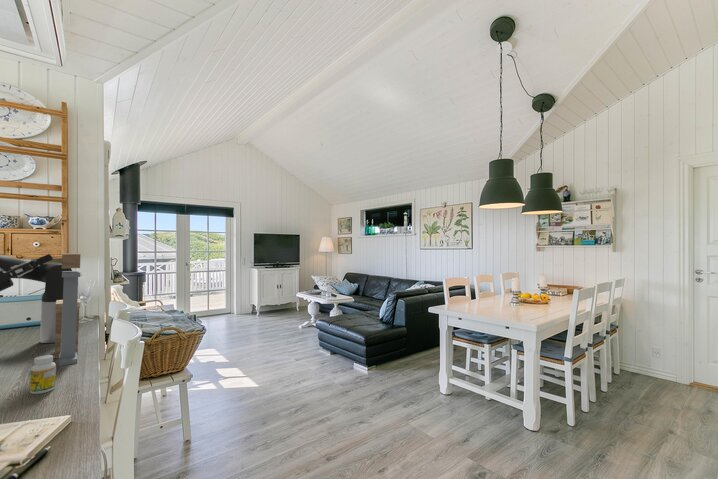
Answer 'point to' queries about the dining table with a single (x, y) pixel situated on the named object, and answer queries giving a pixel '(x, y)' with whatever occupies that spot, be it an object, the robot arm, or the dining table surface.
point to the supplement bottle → (43, 375)
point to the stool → (59, 326)
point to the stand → (69, 318)
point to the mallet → (66, 260)
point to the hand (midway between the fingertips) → (51, 256)
